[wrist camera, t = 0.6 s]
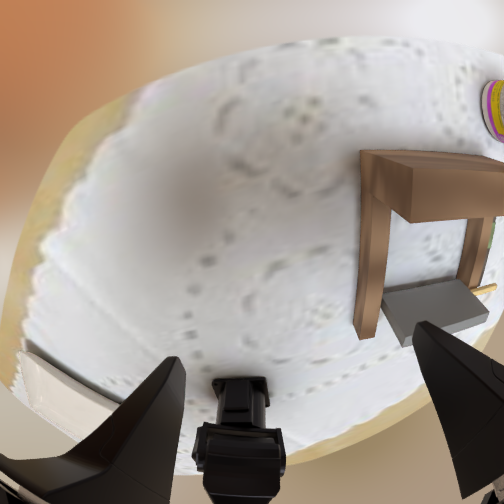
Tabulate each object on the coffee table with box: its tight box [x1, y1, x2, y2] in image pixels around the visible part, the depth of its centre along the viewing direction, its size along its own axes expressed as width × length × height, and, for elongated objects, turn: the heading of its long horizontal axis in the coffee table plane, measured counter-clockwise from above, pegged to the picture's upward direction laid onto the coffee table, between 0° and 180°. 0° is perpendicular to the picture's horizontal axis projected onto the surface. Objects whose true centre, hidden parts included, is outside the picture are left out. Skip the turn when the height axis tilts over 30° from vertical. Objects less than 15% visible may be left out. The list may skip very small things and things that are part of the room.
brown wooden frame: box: [353, 150, 504, 340], centre depth 18 cm, size 17×17×8 cm
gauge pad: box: [380, 279, 497, 348], centre depth 20 cm, size 1×15×6 cm, turn 98°
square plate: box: [19, 350, 120, 440], centre depth 37 cm, size 27×27×4 cm
